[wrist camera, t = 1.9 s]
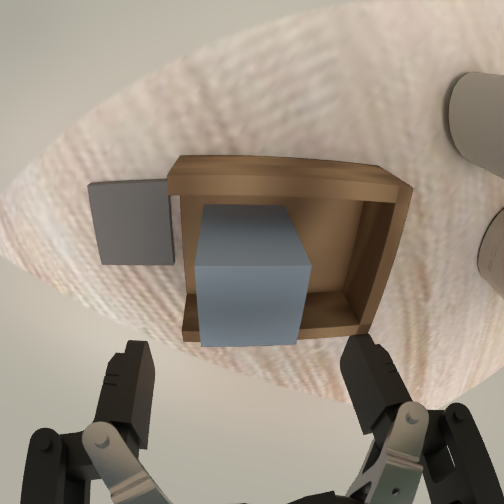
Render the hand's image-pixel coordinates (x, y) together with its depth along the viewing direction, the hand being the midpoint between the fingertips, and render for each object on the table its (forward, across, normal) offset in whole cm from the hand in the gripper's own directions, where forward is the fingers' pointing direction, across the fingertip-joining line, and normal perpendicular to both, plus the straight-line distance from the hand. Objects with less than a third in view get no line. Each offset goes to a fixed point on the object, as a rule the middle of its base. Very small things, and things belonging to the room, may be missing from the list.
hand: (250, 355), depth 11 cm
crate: (+10, -3, 0) cm, 11 cm away
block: (+10, 0, 0) cm, 10 cm away
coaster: (+11, +7, -1) cm, 13 cm away
